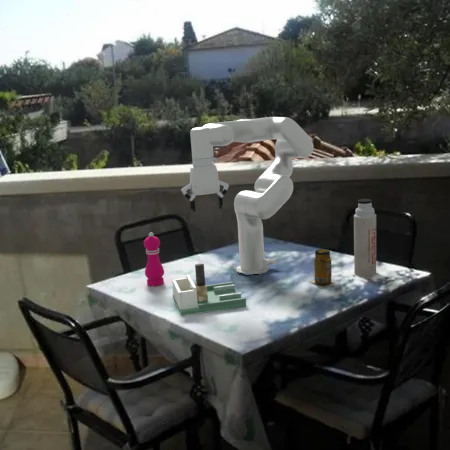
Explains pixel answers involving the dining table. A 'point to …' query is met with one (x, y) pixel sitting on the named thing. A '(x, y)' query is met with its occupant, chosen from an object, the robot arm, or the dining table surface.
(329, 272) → the condiment
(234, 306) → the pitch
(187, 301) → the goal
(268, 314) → the dining table surface
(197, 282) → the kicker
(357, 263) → the thermos bottle
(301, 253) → the dining table surface
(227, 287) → the kicker track
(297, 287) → the dining table surface
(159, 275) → the pepper mill
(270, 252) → the dining table surface
